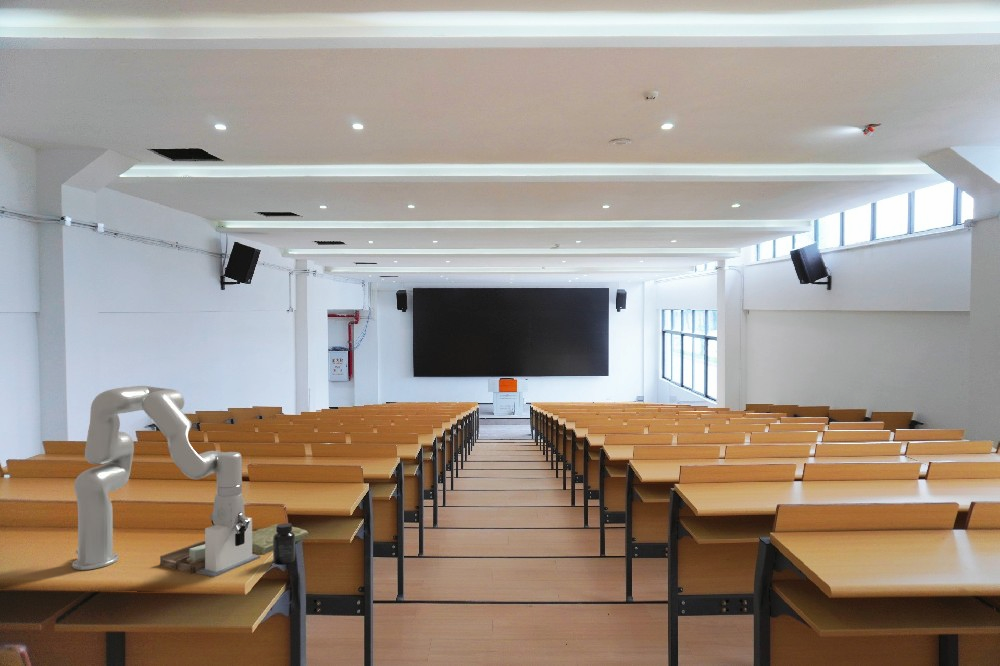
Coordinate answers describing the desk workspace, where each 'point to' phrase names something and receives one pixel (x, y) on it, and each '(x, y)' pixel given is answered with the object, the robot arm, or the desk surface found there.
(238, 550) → the off-white rectangular prism
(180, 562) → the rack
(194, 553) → the offcut upper
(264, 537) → the decorative tile
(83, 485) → the robot arm
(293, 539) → the supplement bottle
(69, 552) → the desk surface
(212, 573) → the mat
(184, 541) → the desk surface
